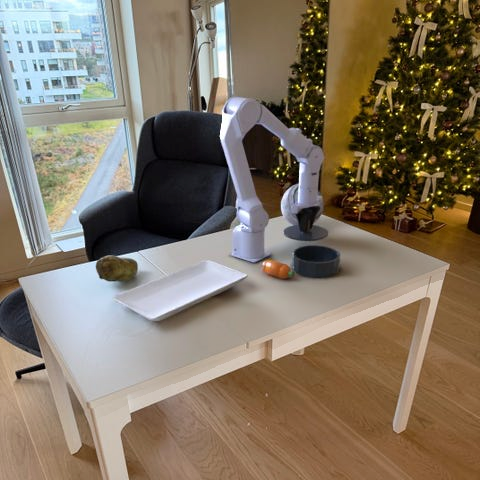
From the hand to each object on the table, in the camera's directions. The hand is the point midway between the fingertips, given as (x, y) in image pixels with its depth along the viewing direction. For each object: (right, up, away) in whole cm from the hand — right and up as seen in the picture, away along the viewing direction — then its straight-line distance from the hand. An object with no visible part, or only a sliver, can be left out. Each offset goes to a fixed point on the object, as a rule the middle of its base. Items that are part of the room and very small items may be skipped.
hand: (305, 230), depth 141 cm
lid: (0, -1, 0) cm, 1 cm away
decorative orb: (+1, +5, +20) cm, 21 cm away
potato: (-54, -18, -17) cm, 59 cm away
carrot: (-11, -16, -16) cm, 25 cm away
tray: (-35, -23, -27) cm, 50 cm away
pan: (+1, -14, -13) cm, 18 cm away
